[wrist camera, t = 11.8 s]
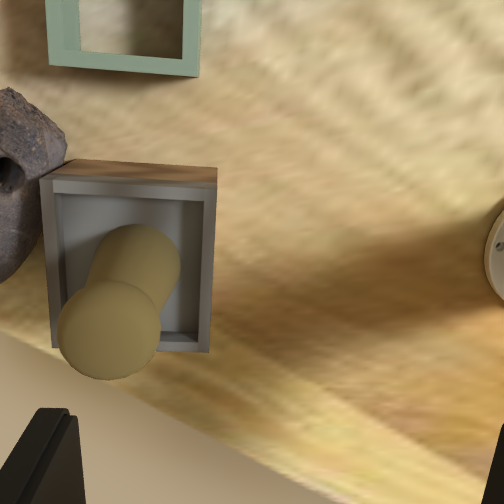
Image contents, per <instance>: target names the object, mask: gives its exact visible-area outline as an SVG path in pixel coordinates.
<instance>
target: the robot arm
mask: <svg viewBox="0 0 504 504" xmlns="http://www.w3.org/2000/svg"><path fill="white" fill-rule="evenodd" d="M484 263H485V272H486V275H487V278H488V281H489V283H490V285H491V286H492V288H493V290H494V291H495V292H496V293H497V294H498V295H499V296H500V297H501V298H502V299H503V300H504V210H503V211H502V213H501V214H500V215H499V217H498V218H497V219H496V221H495V223H494V225H493V227H492V229H491V231H490V233H489V236H488V239H487V243H486V246H485V255H484ZM0 504H86V500H85V490H84V478H83V469H82V457H81V447H80V437H79V426H78V418H77V416H72V415H71V416H70V413H69V411H68V409H66V408H40V409H38V410H37V411H36V413H35V414H34V416H33V418H32V419H31V421H30V423H29V424H28V426H27V427H26V429H25V431H24V432H23V434H22V435H21V437H20V439H19V440H18V442H17V444H16V445H15V447H14V448H13V450H12V452H11V453H10V455H9V457H8V458H7V460H6V462H5V463H4V465H3V466H2V468H1V470H0ZM481 504H504V424H503V425H502V427H501V431H500V434H499V438H498V442H497V446H496V450H495V453H494V457H493V461H492V465H491V468H490V472H489V476H488V480H487V484H486V487H485V491H484V495H483V499H482V503H481Z"/></svg>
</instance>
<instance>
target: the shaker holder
mask: <svg viewBox="0 0 504 504" xmlns="http://www.w3.org/2000/svg"><path fill="white" fill-rule="evenodd" d="M45 9H46V25H47V40H48V56H49V65H55V66H66V67H78V68H91V69H103V70H116V71H128V72H141V73H153V74H166V75H178V76H191V77H199V68H200V39H201V11H202V0H184V8H183V50H182V59H170V58H158V57H146V56H134V55H122V54H110V53H98V52H86V51H81V47H80V23H79V0H45Z"/></svg>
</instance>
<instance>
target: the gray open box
mask: <svg viewBox="0 0 504 504" xmlns="http://www.w3.org/2000/svg"><path fill="white" fill-rule="evenodd" d="M39 182H40V195H41V208H42V221H43V235H44V248H45V261H46V274H47V287H48V301H49V314H50V327H51V340H52V348H59V346H58V343H57V340H56V336H57V321H58V318H59V315H60V313H61V311H62V308H63V306H64V305H65V304H66V302H67V301H68V300H69V299H70V298H71V297H72V296H73V295H74V294H75V293H76V292H77V291H78V290H80V289H82V288H84V287H85V285H86V282H87V278H88V275H89V272H90V268H91V265H92V262H93V258H94V255H95V252H96V250H97V248H98V245H99V243H100V241H101V240H102V239H103V238H104V237H105V236H106V235H107V234H108V233H109V232H110V231H112V230H114V229H116V228H118V227H120V226H124V225H130V224H141V225H149V226H151V227H153V228H155V229H158V230H160V231H162V232H163V233H164V234H165V235H166V236H168V237H169V238H170V239H171V240H172V241H173V243H174V245H175V246H176V248H177V250H178V251H179V255H180V259H181V264H182V265H181V273H180V278H179V280H178V282H177V284H176V286H175V288H174V289H173V291H172V293H171V295H170V296H169V298H168V300H167V302H166V303H165V305H164V307H163V309H162V310H161V312H160V314H159V318H160V322H161V333H160V340H159V345H158V347H157V349H156V351H170V352H204V353H209V339H210V320H211V300H212V281H213V261H214V242H215V222H216V202H217V168H212V167H196V166H180V165H164V164H149V163H133V162H117V161H101V160H86V159H75V160H73V161H71V162H70V163H68V164H66V165H64V166H62V167H60V168H59V169H57V170H55V171H53V172H51V173H50V174H48V175H46V176H44V177H42V178H41V179H39Z"/></svg>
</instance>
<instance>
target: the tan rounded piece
mask: <svg viewBox="0 0 504 504" xmlns="http://www.w3.org/2000/svg"><path fill="white" fill-rule="evenodd" d="M181 265H182V264H181V259H180V255H179V251H178V250H177V248H176V246H175V245H174V243H173V241H172V240H171V239H170V238H169V237H168V236H166V235H165V234H164V233H163V232H162V231H160V230H158V229H155V228H153V227H151V226H149V225H141V224H130V225H124V226H120V227H118V228H116V229H114V230H112V231H110V232H109V233H108V234H107V235H106V236H105V237H104V238H103V239H102V240H101V241H100V243H99V245H98V248H97V250H96V252H95V255H94V258H93V262H92V265H91V268H90V272H89V275H88V278H87V282H86V285H85V287H84V288H82V289H80V290H78V291H77V292H76V293H75V294H74V295H73V296H72V297H71V298H70V299H69V300H68V301H67V302H66V304H65V305H64V306H63V308H62V311H61V313H60V315H59V318H58V321H57V336H56V340H57V343H58V346H59V349H60V351H61V353H62V355H63V356H64V358H65V359H66V360H67V362H68V363H69V364H70V366H71V367H73V368H74V369H75V370H77V371H78V372H80V373H81V374H83V375H85V376H88V377H91V378H93V379H99V380H114V379H120V378H125V377H127V376H129V375H131V374H134V373H136V372H138V371H139V370H140V369H141V368H143V367H144V366H145V365H146V364H147V363H148V362H149V361H150V359H151V358H152V357H153V355H154V353H155V351H156V349H157V347H158V345H159V340H160V333H161V322H160V318H159V314H160V312H161V310H162V309H163V307H164V305H165V303H166V302H167V300H168V298H169V296H170V295H171V293H172V291H173V289H174V288H175V286H176V284H177V282H178V280H179V278H180V273H181Z"/></svg>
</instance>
